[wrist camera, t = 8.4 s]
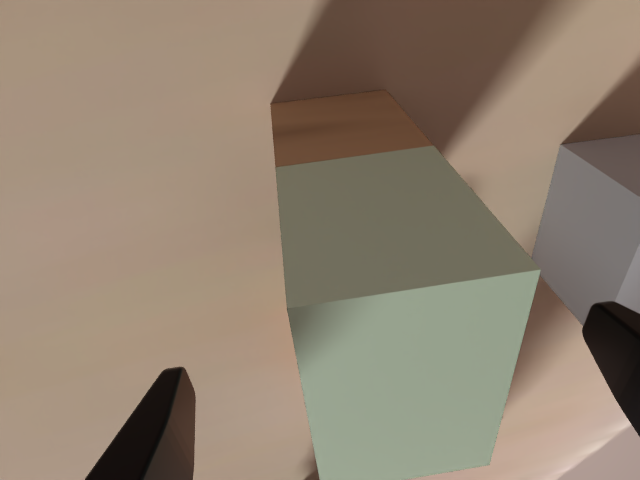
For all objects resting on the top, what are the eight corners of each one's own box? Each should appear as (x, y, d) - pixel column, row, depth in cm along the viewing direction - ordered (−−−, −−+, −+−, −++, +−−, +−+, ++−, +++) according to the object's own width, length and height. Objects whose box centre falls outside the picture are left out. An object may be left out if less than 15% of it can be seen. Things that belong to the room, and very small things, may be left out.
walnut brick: (385, 232, 18) (421, 315, 14) (291, 245, 18) (301, 333, 14) (385, 89, 15) (433, 145, 11) (270, 103, 15) (275, 166, 11)
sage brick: (422, 315, 14) (489, 465, 10) (303, 333, 14) (322, 493, 10) (433, 145, 11) (541, 269, 7) (275, 167, 11) (287, 308, 7)
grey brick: (609, 251, 21) (696, 327, 17) (529, 262, 20) (597, 342, 16) (655, 131, 17) (779, 190, 13) (559, 143, 17) (655, 207, 13)
